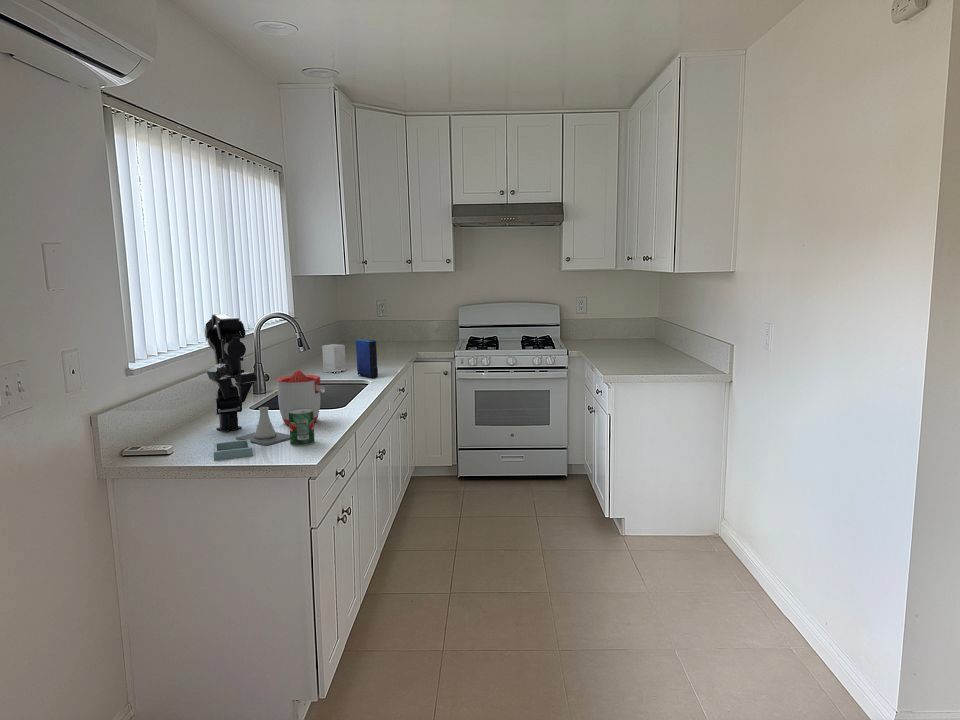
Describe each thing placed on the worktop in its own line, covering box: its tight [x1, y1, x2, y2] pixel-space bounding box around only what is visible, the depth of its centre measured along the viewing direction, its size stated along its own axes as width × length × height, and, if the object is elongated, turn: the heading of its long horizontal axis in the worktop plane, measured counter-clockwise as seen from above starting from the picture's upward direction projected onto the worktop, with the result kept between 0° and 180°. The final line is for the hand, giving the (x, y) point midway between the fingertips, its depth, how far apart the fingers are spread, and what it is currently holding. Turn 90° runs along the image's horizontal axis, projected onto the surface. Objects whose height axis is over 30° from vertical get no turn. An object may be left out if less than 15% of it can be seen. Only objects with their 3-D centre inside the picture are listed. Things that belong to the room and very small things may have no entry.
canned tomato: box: [288, 408, 316, 447], centre depth 212 cm, size 8×8×11 cm
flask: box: [254, 406, 277, 439], centre depth 218 cm, size 7×7×10 cm
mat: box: [235, 431, 290, 447], centre depth 219 cm, size 16×12×1 cm
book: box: [355, 338, 379, 379], centre depth 337 cm, size 14×5×20 cm, turn 43°
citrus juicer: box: [276, 369, 326, 426], centre depth 239 cm, size 16×17×20 cm
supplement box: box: [321, 343, 347, 374], centre depth 356 cm, size 9×9×15 cm
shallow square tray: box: [212, 439, 254, 461], centre depth 201 cm, size 11×11×2 cm
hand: (234, 400), depth 218 cm, fingers open, 9 cm apart
